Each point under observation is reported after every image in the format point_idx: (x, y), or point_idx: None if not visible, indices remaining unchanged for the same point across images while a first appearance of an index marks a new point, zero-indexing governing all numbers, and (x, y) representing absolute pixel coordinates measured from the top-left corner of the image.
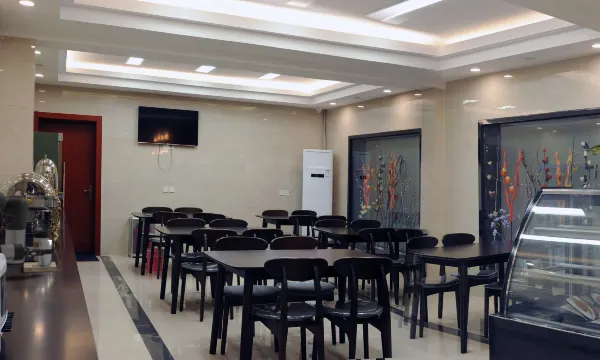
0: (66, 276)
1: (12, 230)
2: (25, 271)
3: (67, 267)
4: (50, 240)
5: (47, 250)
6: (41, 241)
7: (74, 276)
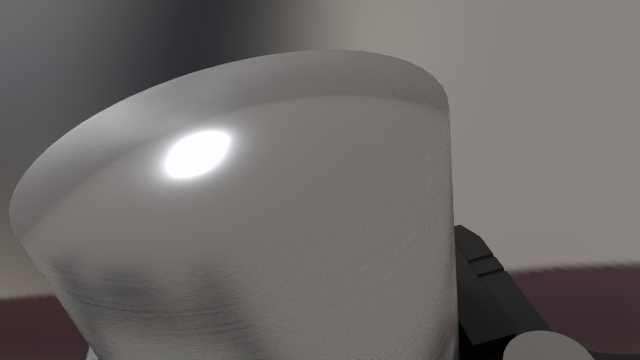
0: (568, 328)
1: None
2: None
3: (8, 331)
4: (333, 57)
5: (513, 296)
6: (386, 228)
7: (561, 270)
